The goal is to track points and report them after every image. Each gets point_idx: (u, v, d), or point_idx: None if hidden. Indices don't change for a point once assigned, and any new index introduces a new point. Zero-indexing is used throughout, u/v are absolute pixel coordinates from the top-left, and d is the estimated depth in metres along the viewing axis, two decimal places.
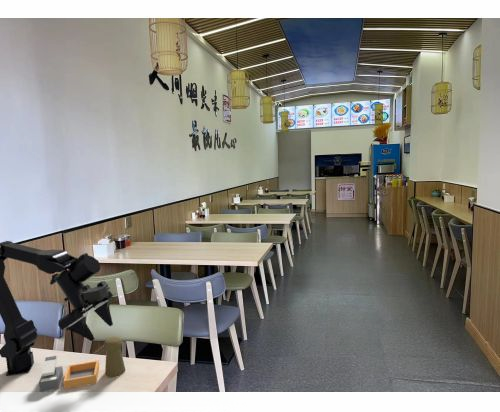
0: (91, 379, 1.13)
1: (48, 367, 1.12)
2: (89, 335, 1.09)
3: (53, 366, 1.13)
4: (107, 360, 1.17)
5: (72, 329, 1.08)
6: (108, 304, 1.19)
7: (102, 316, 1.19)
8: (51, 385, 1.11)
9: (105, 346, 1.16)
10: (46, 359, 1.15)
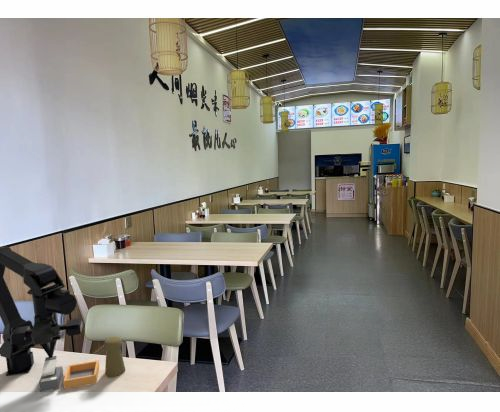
0: (91, 379, 1.13)
1: (48, 367, 1.12)
2: None
3: (53, 366, 1.13)
4: (107, 360, 1.17)
5: None
6: (52, 341, 1.13)
7: None
8: (51, 385, 1.11)
9: (105, 346, 1.16)
10: (46, 359, 1.15)
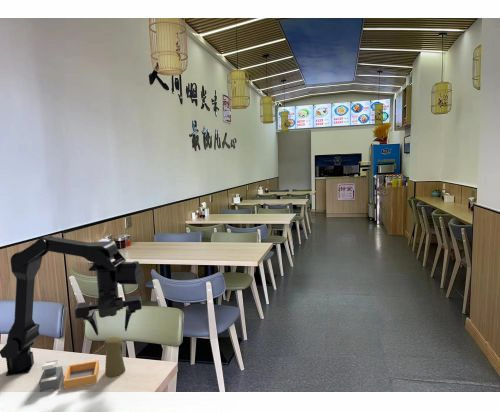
0: (91, 379, 1.13)
1: (48, 364, 1.13)
2: (94, 330, 1.16)
3: (53, 363, 1.13)
4: (107, 360, 1.17)
5: None
6: (127, 314, 1.16)
7: None
8: (51, 385, 1.11)
9: (105, 346, 1.16)
10: (47, 362, 1.16)
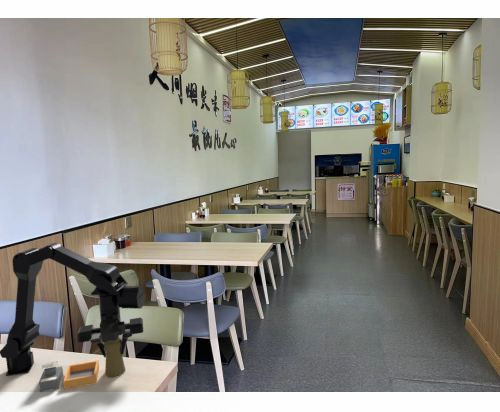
0: (91, 379, 1.13)
1: (48, 363, 1.13)
2: (102, 352, 1.17)
3: (53, 362, 1.13)
4: (107, 360, 1.17)
5: None
6: (124, 338, 1.17)
7: None
8: (51, 385, 1.11)
9: (105, 346, 1.16)
10: (47, 363, 1.16)
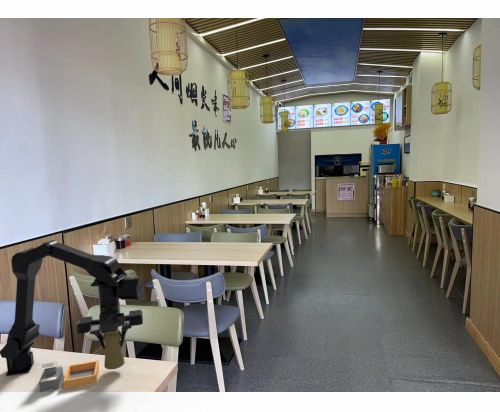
0: (91, 379, 1.13)
1: None
2: (101, 344, 1.17)
3: None
4: (106, 352, 1.16)
5: None
6: (123, 330, 1.16)
7: None
8: (51, 385, 1.11)
9: (104, 338, 1.16)
10: None
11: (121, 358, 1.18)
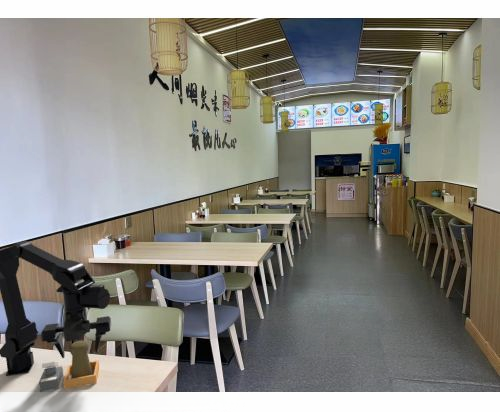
0: (91, 379, 1.13)
1: None
2: None
3: (53, 362, 1.14)
4: (73, 364, 1.14)
5: None
6: (97, 336, 1.14)
7: None
8: (51, 385, 1.11)
9: (71, 350, 1.13)
10: None
11: (88, 370, 1.16)
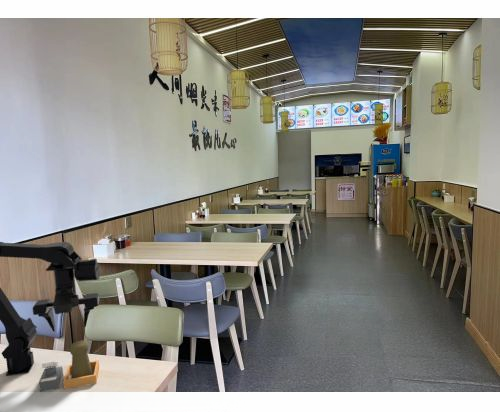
0: (91, 379, 1.13)
1: None
2: None
3: (53, 362, 1.14)
4: (73, 364, 1.14)
5: None
6: (86, 311, 1.22)
7: None
8: (51, 385, 1.11)
9: (71, 350, 1.14)
10: None
11: (88, 370, 1.16)
